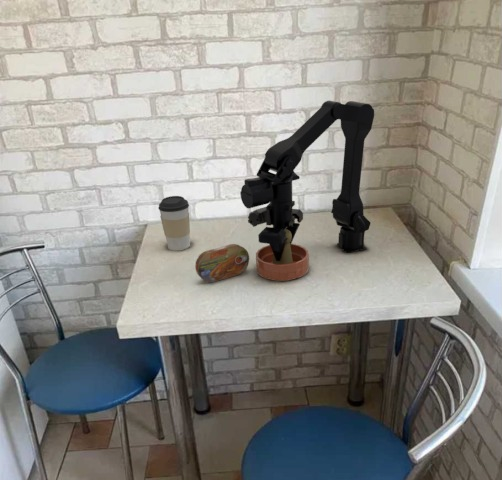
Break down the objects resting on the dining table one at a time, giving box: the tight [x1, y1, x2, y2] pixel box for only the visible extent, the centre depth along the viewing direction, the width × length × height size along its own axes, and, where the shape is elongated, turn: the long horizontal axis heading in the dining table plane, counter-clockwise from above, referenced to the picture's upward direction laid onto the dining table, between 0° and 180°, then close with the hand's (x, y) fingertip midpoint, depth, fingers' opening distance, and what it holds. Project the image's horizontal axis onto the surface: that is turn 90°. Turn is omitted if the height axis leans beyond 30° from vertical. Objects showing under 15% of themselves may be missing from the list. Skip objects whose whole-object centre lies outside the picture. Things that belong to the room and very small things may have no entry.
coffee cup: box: [158, 195, 191, 251], centre depth 160 cm, size 9×9×15 cm
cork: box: [272, 229, 293, 264], centre depth 142 cm, size 6×6×11 cm
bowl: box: [255, 243, 310, 282], centre depth 144 cm, size 14×14×5 cm
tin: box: [194, 243, 250, 283], centre depth 142 cm, size 15×3×8 cm, turn 118°
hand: (282, 255), depth 143 cm, fingers open, 6 cm apart
